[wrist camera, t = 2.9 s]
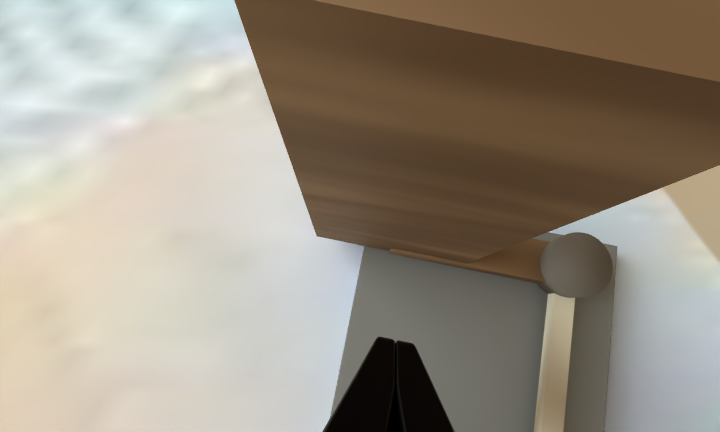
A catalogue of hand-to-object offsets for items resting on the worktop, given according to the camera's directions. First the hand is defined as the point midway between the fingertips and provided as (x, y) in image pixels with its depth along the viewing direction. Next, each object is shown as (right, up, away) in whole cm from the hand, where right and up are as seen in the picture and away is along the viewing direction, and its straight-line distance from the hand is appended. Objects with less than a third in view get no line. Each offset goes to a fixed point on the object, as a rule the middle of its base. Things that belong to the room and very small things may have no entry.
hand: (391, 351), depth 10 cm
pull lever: (+2, -3, +7) cm, 8 cm away
